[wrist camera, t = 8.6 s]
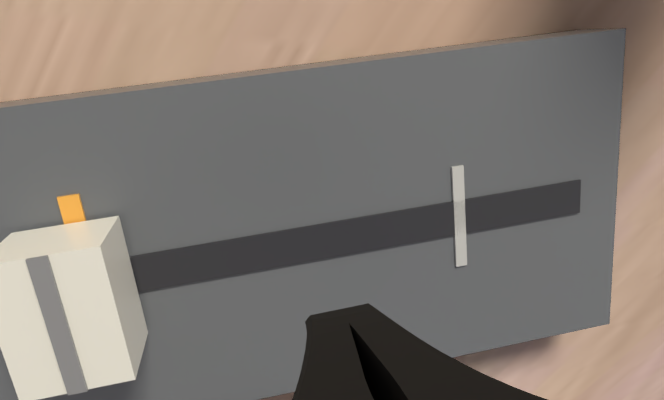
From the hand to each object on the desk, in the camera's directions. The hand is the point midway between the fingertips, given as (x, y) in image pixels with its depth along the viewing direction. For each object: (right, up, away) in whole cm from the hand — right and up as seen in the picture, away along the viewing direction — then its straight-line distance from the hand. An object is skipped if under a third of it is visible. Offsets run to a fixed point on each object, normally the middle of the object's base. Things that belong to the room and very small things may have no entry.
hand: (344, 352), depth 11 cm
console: (-2, +2, +9) cm, 9 cm away
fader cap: (-8, 0, +5) cm, 10 cm away
